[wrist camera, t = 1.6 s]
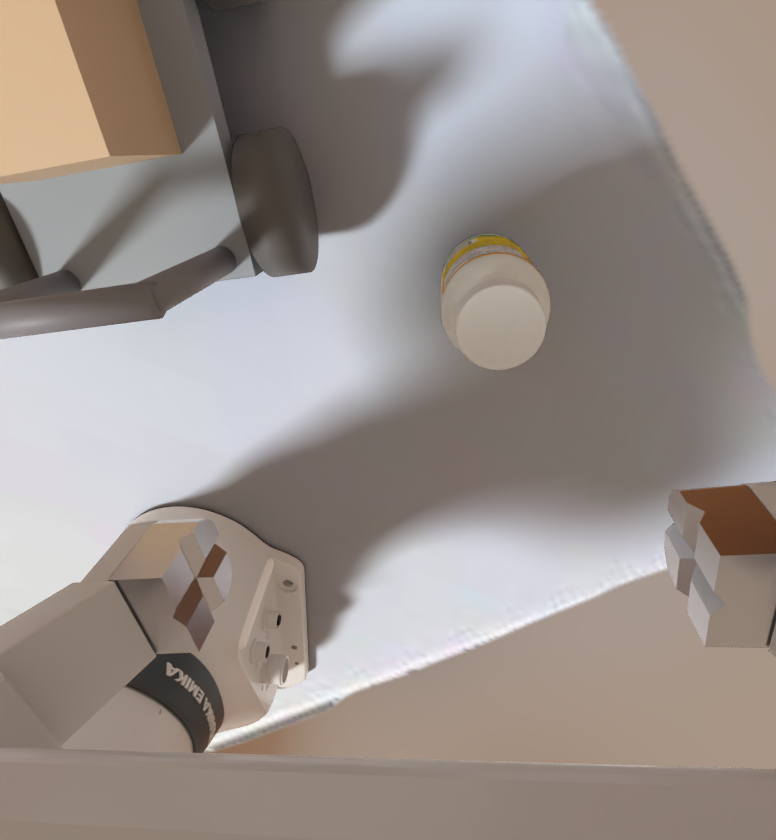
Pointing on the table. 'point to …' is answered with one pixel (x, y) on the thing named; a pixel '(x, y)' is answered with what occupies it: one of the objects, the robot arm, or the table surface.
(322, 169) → the table surface
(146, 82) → the trolley
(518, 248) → the supplement bottle
